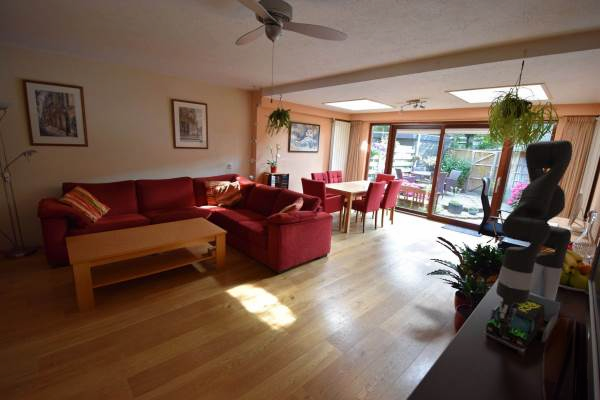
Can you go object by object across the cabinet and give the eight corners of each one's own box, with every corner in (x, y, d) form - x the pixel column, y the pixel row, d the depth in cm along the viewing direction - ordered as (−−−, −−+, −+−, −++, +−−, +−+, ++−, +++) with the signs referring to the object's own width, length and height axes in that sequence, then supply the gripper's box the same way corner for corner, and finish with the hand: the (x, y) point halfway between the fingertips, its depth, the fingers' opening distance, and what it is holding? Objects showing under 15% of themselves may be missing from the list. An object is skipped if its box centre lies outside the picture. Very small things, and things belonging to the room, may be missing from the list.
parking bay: (506, 303, 111) (510, 285, 109) (556, 322, 99) (560, 303, 97) (490, 318, 99) (494, 299, 98) (544, 342, 87) (549, 320, 86)
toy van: (481, 338, 88) (487, 311, 86) (507, 314, 102) (512, 290, 101) (522, 359, 79) (529, 329, 78) (543, 330, 94) (549, 304, 92)
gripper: (505, 273, 86) (496, 321, 89) (491, 282, 78) (481, 336, 81) (535, 282, 80) (524, 334, 83) (524, 294, 72) (511, 351, 75)
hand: (503, 335), depth 82 cm, fingers closed
